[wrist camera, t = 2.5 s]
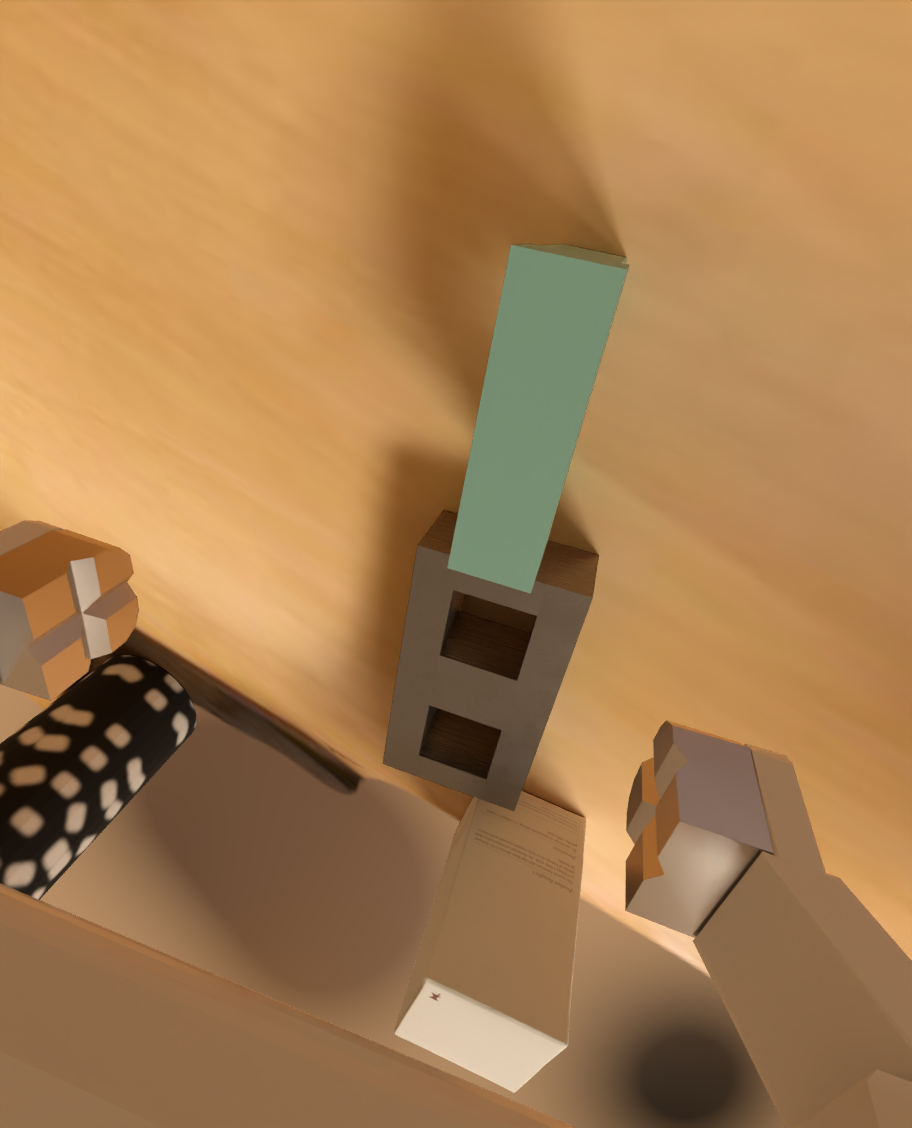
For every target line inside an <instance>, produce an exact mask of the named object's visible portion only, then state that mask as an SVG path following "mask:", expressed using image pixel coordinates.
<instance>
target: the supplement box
mask: <svg viewBox="0 0 912 1128" xmlns="http://www.w3.org/2000/svg"><path fill="white" fill-rule="evenodd" d="M585 828H586V819H585V818H583V817H581V816H578V815H576V814H574V813H571V812H569V811H567V810H564V809H562V808H560V807H558V806H555V805H553V804H551V803H549V802H546V801H544V800H542V799H540V798H537V797H535V796H533V795H530V794H528V793H526V792H524V791H522V792H521V794H520V797H519V800H518V802H517V805H516V808H515V811H511V810H508V809H506V808H503V807H500V806H497V805H495V804H492V803H489V802H486V801H484V800H481V799H478V798H475V797H473V799H472V801H471V803H470V805H469V806H468V808H467V810H466V812H465V814H464V816H463V818H462V820H461V821H460V823H459V825H458V827H457V829H456V831H455V834H454V837H453V841H452V844H451V847H450V850H449V854H448V857H447V861H446V864H445V867H444V871H443V874H442V877H441V880H440V883H439V887H438V890H437V893H436V896H435V900H434V902H433V906H432V909H431V912H430V916H429V919H428V922H427V925H426V928H425V932H424V935H423V938H422V941H421V944H420V948H419V951H418V954H417V957H416V961H415V964H414V967H413V971H412V974H411V977H410V980H409V984H408V987H407V990H406V994H405V997H404V1000H403V1003H402V1007H401V1010H400V1013H399V1017H398V1020H397V1024H396V1027H395V1031H394V1033H395V1034H396V1035H397V1036H399V1037H401V1038H404V1039H406V1040H408V1041H410V1042H412V1043H414V1044H416V1045H418V1046H420V1047H423V1048H424V1049H427V1050H429V1051H431V1052H433V1053H435V1054H437V1055H439V1056H441V1057H443V1058H445V1059H447V1060H449V1061H452V1062H453V1063H455V1064H457V1065H459V1066H461V1067H463V1068H466V1069H468V1070H470V1071H472V1072H474V1073H476V1074H478V1075H480V1076H482V1077H484V1078H486V1079H488V1080H490V1081H492V1082H494V1083H496V1084H498V1085H500V1086H502V1087H504V1088H506V1089H508V1090H510V1091H512V1092H516V1091H517V1090H518V1089H519V1088H521V1086H523V1085H524V1084H525V1083H526V1082H527V1081H528V1080H529V1079H530V1078H532V1077H533V1076H534V1075H535V1074H536V1073H537V1072H538V1071H539V1070H540V1069H541V1068H542V1067H543V1066H544V1065H545V1064H547V1063H548V1062H549V1061H550V1060H551V1059H552V1058H554V1057H555V1056H556V1055H558V1054H559V1053H560V1052H561V1051H562V1050H564V1049H565V1048H566V1047H567V1046H568V1039H569V1017H570V1003H571V991H572V980H573V979H572V978H573V969H574V958H575V945H576V935H577V926H578V914H579V902H580V892H581V880H582V868H583V853H584V841H585Z"/></svg>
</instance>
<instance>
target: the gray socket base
mask: <svg viewBox="0 0 912 1128" xmlns="http://www.w3.org/2000/svg"><path fill="white" fill-rule="evenodd" d="M457 517H458V514H455V513H452V512H448V511H445V510H443V512H442V513H441V514H440V516H439V517H438V518H437V520H436V521H435V522H434V524H433V525H432V527H431V528H430V529H429V531H428V532H427V533H426V535H425V536H424V537H423V539H422V540H421V541H420V543H419V544H418V546H417V552H416V558H415V565H414V571H413V577H412V583H411V590H410V596H409V602H408V608H407V614H406V621H405V627H404V633H403V639H402V646H401V652H400V658H399V664H398V671H397V677H396V683H395V689H394V696H393V702H392V708H391V714H390V720H389V727H388V733H387V739H386V745H385V752H384V758H383V764H385V765H388V766H391V767H393V768H396V769H399V770H401V771H404V772H407V773H410V774H412V775H415V776H418V777H421V778H423V779H426V780H429V781H432V782H434V783H437V784H440V785H443V786H445V787H448V788H451V789H454V790H456V791H459V792H462V793H464V794H467V795H470V796H473V797H475V798H478V799H481V800H484V801H486V802H489V803H492V804H495V805H497V806H500V807H503V808H506V809H508V810H511V811H515V808H516V805H517V802H518V800H519V797H520V794H521V792H522V789H523V786H524V783H525V781H526V778H527V775H528V773H529V770H530V767H531V764H532V762H533V759H534V756H535V754H536V751H537V748H538V745H539V743H540V740H541V737H542V734H543V732H544V729H545V726H546V724H547V721H548V718H549V715H550V713H551V710H552V707H553V705H554V702H555V699H556V696H557V694H558V691H559V688H560V685H561V683H562V680H563V677H564V675H565V672H566V669H567V666H568V664H569V661H570V658H571V656H572V653H573V650H574V647H575V645H576V642H577V639H578V636H579V634H580V631H581V628H582V626H583V623H584V620H585V617H586V615H587V612H588V609H589V607H590V604H591V601H592V598H593V592H594V585H595V578H596V572H597V565H598V558H599V555H596V554H593V553H590V552H586V551H583V550H579V549H576V548H572V547H569V546H565V545H562V544H559V543H555V542H552V541H547V544H546V548H545V551H544V554H543V557H542V560H541V564H540V567H539V570H538V573H537V576H536V579H535V582H534V585H533V588H532V591H531V594H530V593H527V592H524V591H521V590H517V589H514V588H511V587H507V586H504V585H501V584H498V583H494V582H491V581H488V580H485V579H481V578H478V577H475V576H471V575H468V574H465V573H462V572H458V571H455V570H452V569H449V568H447V567H448V562H449V557H450V552H451V547H452V542H453V537H454V532H455V527H456V522H457ZM465 594H468V595H471V596H474V597H477V598H481V599H484V600H487V601H490V602H493V603H497V604H500V605H503V606H506V607H510V608H513V609H516V610H519V611H522V612H526V613H529V614H532V615H535V616H536V619H535V622H534V625H533V629H532V632H531V634H530V633H527V632H524V631H520V630H517V629H514V628H511V627H508V626H505V625H501V624H498V623H495V622H492V621H489V620H486V619H482V618H479V617H476V616H473V615H470V614H467V613H464V612H461V610H462V606H463V601H464V597H465Z"/></svg>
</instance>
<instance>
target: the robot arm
mask: <svg viewBox="0 0 912 1128" xmlns="http://www.w3.org/2000/svg"><path fill="white" fill-rule="evenodd" d="M133 574H134V572H133V567H132V562H131V557H130V554H128V553H127V552H125V551H124V550H122V549H121V548H119V547H116V546H113V545H110V544H107V543H104V542H101V541H98V540H95V539H93V538H90V537H87V536H84V535H81V534H78V533H75V532H72V531H69V530H66V529H65V530H64V529H61V528H59V527H56V526H53V525H50V524H47V523H44V522H41V521H22V522H20V523H18V524H16V525H13V526H11V527H9V528H7V529H5V530H2V531H0V684H1V685H4V686H7V687H10V688H13V689H16V690H19V691H22V692H25V693H28V694H31V695H34V696H37V697H40V698H44V699H47V700H50V701H51V700H53V699H54V698H55V697H56V696H58V695H59V694H60V693H62V692H63V691H64V690H65V689H67V688H68V687H69V686H70V685H72V684H73V683H74V682H76V681H77V680H78V679H79V678H81V677H82V676H83V675H85V674H86V673H87V672H88V671H89V667H90V662H91V659H93V658H97V657H100V656H103V655H107V654H110V653H112V652H114V651H115V650H116V649H117V648H118V647H120V646H121V645H122V644H123V643H124V642H126V641H127V639H128V637H129V636H130V634H131V632H132V631H133V629H134V627H135V626H136V624H137V618H138V613H139V607H138V599H137V596H136V595H135V593H134V592H133V590H132V589H131V587H130V586H129V585H128V583H127V581H128V580H129V579H130V577H131V576H132V575H133ZM653 741H654V757H653V758H651V759H649V760H647V761H644V762H642V764H641V766H640V768H639V770H638V772H637V775H636V777H635V779H634V782H633V786H632V789H631V793H630V796H629V802H628V810H627V828H626V831H627V832H628V834H629V836H630V837H631V839H632V841H633V842H634V844H635V845H634V847H633V849H632V851H631V853H630V855H629V856H628V858H627V860H626V907H625V911H628V912H630V913H633V914H635V915H638V916H640V917H643V918H645V919H648V920H650V921H653V922H656V923H658V924H661V925H663V926H666V927H668V928H671V929H673V930H676V931H678V932H681V933H683V934H686V935H688V936H691V937H694V938H695V939H694V941H693V942H694V944H695V946H696V948H697V950H698V952H699V954H700V956H701V958H702V960H703V962H704V964H705V966H706V968H707V970H708V972H709V974H710V976H711V978H712V980H713V982H714V984H715V986H716V988H717V990H718V992H719V994H720V996H721V998H722V1000H723V1002H724V1005H725V1007H726V1009H727V1011H728V1013H729V1015H730V1016H731V1019H732V1021H733V1023H734V1025H735V1027H736V1029H737V1031H738V1033H739V1035H740V1036H741V1039H742V1041H743V1043H744V1045H745V1047H746V1049H747V1051H748V1053H749V1055H750V1057H751V1059H752V1061H753V1063H754V1065H755V1067H756V1069H757V1071H758V1073H759V1075H760V1077H761V1079H762V1081H763V1083H764V1085H765V1087H766V1089H767V1091H768V1093H769V1095H770V1097H771V1099H772V1101H773V1103H774V1105H775V1107H776V1109H777V1112H778V1114H779V1115H780V1118H781V1120H782V1122H783V1124H784V1126H785V1128H912V961H911V960H910V958H909V957H908V956H907V955H906V954H905V953H904V952H903V950H902V949H901V948H900V947H899V946H898V945H897V943H896V942H895V941H894V940H893V939H892V938H891V937H890V935H889V934H888V933H887V932H886V931H885V930H884V929H883V927H882V926H881V925H880V924H879V923H878V922H877V920H876V919H875V918H874V917H873V916H872V915H871V914H870V912H869V911H868V910H867V909H866V908H865V907H864V905H863V904H862V903H861V902H860V901H859V900H858V899H857V897H856V896H855V895H854V894H853V893H852V892H851V891H850V889H849V888H848V887H847V886H846V885H845V884H844V882H843V881H842V880H841V879H840V878H838V877H835V876H833V875H830V874H827V873H826V872H825V868H824V865H823V862H822V859H821V855H820V852H819V849H818V846H817V842H816V839H815V836H814V833H813V829H812V826H811V823H810V820H809V816H808V813H807V810H806V807H805V803H804V800H803V797H802V794H801V790H800V787H799V784H798V781H797V777H796V774H795V771H794V768H793V764H792V762H791V761H790V760H789V759H788V758H787V757H786V756H785V755H782V754H778V753H775V752H772V751H768V750H765V749H761V748H758V747H755V746H751V745H748V744H744V745H743V744H741V743H738V742H735V741H732V740H729V739H725V738H722V737H719V736H716V735H712V734H709V733H706V732H703V731H699V730H696V729H693V728H690V727H686V726H683V725H680V724H677V723H673V722H670V721H666V722H665V723H664V724H663V725H662V726H661V727H660V729H659V731H658V733H657V734H656V736H655V738H654V740H653ZM0 1128H577V1127H575V1126H572V1125H570V1124H567V1123H565V1122H563V1121H560V1120H558V1119H556V1118H553V1117H551V1116H549V1115H546V1114H544V1113H541V1112H539V1111H537V1110H534V1109H532V1108H530V1107H527V1106H525V1105H523V1104H520V1103H518V1102H516V1101H513V1100H511V1099H508V1098H506V1097H504V1096H501V1095H499V1094H497V1093H494V1092H492V1091H489V1090H487V1089H485V1088H482V1087H480V1086H478V1085H475V1084H473V1083H471V1082H468V1081H466V1080H464V1079H461V1078H459V1077H456V1076H454V1075H452V1074H449V1073H447V1072H445V1071H442V1070H440V1069H437V1068H435V1067H433V1066H430V1065H428V1064H426V1063H423V1062H421V1061H419V1060H416V1059H414V1058H412V1057H409V1056H407V1055H405V1054H402V1053H400V1052H397V1051H395V1050H393V1049H390V1048H388V1047H385V1046H383V1045H381V1044H379V1043H376V1042H374V1041H371V1040H369V1039H367V1038H364V1037H362V1036H359V1035H357V1034H355V1033H353V1032H350V1031H348V1030H345V1029H343V1028H341V1027H338V1026H336V1025H334V1024H331V1023H329V1022H327V1021H324V1020H322V1019H319V1018H317V1017H315V1016H312V1015H310V1014H307V1013H305V1012H303V1011H300V1010H298V1009H296V1008H293V1007H291V1006H288V1005H286V1004H284V1003H282V1002H279V1001H277V1000H274V999H272V998H270V997H267V996H265V995H263V994H260V993H258V992H256V991H253V990H251V989H248V988H246V987H244V986H242V985H239V984H237V983H234V982H232V981H230V980H227V979H225V978H222V977H220V976H218V975H216V974H213V973H211V972H208V971H206V970H203V969H201V968H199V967H197V966H194V965H191V964H190V963H187V962H184V961H182V960H180V959H178V958H175V957H173V956H170V955H168V954H166V953H163V952H161V951H159V950H156V949H154V948H151V947H149V946H147V945H144V944H142V943H140V942H137V941H135V940H133V939H130V938H128V937H126V936H123V935H121V934H119V933H116V932H114V931H112V930H109V929H107V928H104V927H102V926H100V925H97V924H95V923H93V922H90V921H88V920H86V919H83V918H81V917H78V916H76V915H74V914H71V913H69V912H66V911H64V910H62V909H60V908H57V907H55V906H52V905H50V904H48V903H45V902H43V901H40V900H38V899H36V898H34V897H31V896H29V895H26V894H24V893H22V892H19V891H17V890H15V889H12V888H10V887H8V886H5V885H3V884H1V883H0Z"/></svg>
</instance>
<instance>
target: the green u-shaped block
mask: <svg viewBox="0 0 912 1128" xmlns="http://www.w3.org/2000/svg"><path fill="white" fill-rule="evenodd" d="M626 258H627V257H622V256H617V255H613V254H608V253H603V252H598V251H594V250H589V249H584V248H580V247H575V246H570V245H565V244H554V245H540V246H538V245H534V244H517V245H511V247H510V253H509V258H508V263H507V268H506V273H505V278H504V283H503V288H502V293H501V298H500V303H499V308H498V313H497V319H496V324H495V329H494V334H493V339H492V344H491V349H490V354H489V359H488V364H487V369H486V374H485V379H484V385H483V390H482V395H481V400H480V405H479V410H478V415H477V420H476V425H475V430H474V435H473V440H472V446H471V451H470V456H469V461H468V466H467V471H466V476H465V481H464V486H463V491H462V496H461V501H460V506H459V512H458V517H457V522H456V527H455V532H454V537H453V542H452V547H451V552H450V557H449V562H448V567H447V568H449V569H452V570H455V571H458V572H462V573H465V574H468V575H471V576H475V577H478V578H481V579H485V580H488V581H491V582H494V583H498V584H501V585H504V586H507V587H511V588H514V589H517V590H521V591H524V592H527V593H530V594H531V591H532V588H533V585H534V582H535V579H536V576H537V573H538V570H539V567H540V564H541V560H542V557H543V554H544V551H545V548H546V544H547V541H548V538H549V534H550V531H551V527H552V524H553V521H554V517H555V514H556V511H557V507H558V504H559V501H560V497H561V494H562V490H563V487H564V484H565V480H566V477H567V474H568V470H569V467H570V464H571V460H572V457H573V453H574V450H575V447H576V443H577V440H578V437H579V433H580V430H581V427H582V423H583V420H584V416H585V413H586V410H587V406H588V403H589V400H590V396H591V393H592V390H593V386H594V383H595V379H596V376H597V373H598V369H599V366H600V363H601V359H602V356H603V353H604V349H605V346H606V342H607V339H608V336H609V332H610V329H611V326H612V322H613V319H614V316H615V312H616V309H617V305H618V302H619V299H620V295H621V292H622V289H623V285H624V282H625V279H626V275H627V272H628V268H629V265H627V264H625V262H626Z"/></svg>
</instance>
